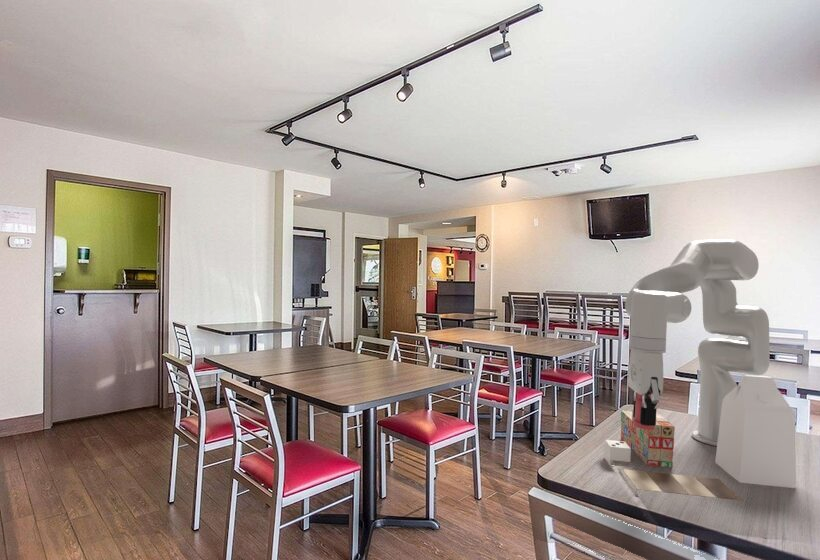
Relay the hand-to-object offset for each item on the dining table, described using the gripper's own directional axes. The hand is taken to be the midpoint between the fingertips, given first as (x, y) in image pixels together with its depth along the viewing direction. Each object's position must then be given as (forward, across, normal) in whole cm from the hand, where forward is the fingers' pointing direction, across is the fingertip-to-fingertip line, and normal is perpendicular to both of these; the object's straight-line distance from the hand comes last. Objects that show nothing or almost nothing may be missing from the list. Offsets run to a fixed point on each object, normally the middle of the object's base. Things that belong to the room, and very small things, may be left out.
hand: (644, 420), depth 105 cm
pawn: (+1, 0, 0) cm, 1 cm away
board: (+15, 0, +8) cm, 18 cm away
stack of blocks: (+16, -20, +7) cm, 27 cm away
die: (+16, -13, -2) cm, 20 cm away
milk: (+16, -10, +29) cm, 35 cm away
